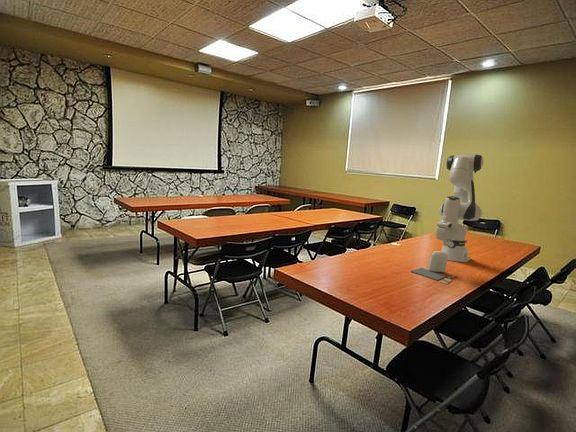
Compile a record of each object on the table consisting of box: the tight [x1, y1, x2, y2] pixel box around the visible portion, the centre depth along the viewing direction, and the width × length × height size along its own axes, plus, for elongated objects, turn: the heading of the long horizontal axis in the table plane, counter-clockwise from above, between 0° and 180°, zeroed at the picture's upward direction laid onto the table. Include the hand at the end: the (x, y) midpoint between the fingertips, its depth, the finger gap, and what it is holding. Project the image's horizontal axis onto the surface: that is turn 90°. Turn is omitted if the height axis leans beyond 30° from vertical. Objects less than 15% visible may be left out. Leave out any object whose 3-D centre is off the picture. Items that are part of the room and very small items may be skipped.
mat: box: [410, 267, 448, 281], centre depth 189 cm, size 12×16×1 cm
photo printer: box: [427, 250, 448, 273], centre depth 194 cm, size 10×4×12 cm, turn 103°
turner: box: [439, 274, 454, 285], centre depth 182 cm, size 16×4×1 cm, turn 138°
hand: (445, 246), depth 196 cm, fingers closed
